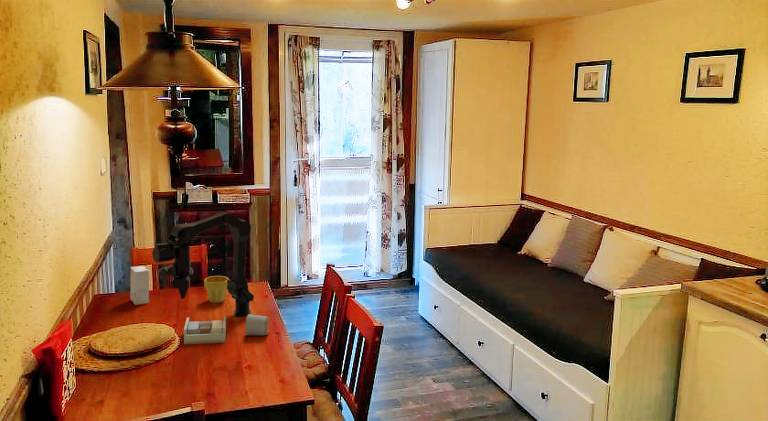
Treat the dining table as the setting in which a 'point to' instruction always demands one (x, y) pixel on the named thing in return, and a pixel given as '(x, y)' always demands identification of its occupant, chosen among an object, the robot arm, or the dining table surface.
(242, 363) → the dining table surface
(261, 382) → the dining table surface
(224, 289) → the plant pot
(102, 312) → the dining table surface
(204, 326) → the brown rectangular block
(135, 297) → the skincare box
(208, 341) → the key bed
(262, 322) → the ceramic mug
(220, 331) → the ivory key
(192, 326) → the grey flat block
